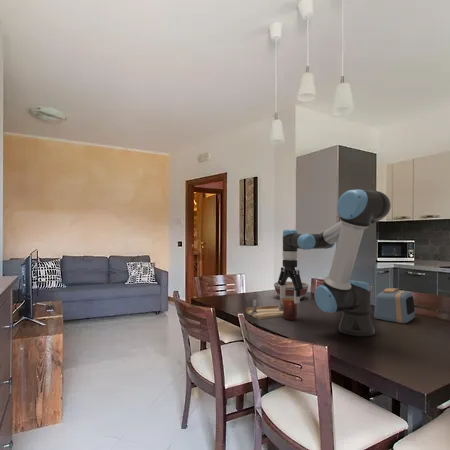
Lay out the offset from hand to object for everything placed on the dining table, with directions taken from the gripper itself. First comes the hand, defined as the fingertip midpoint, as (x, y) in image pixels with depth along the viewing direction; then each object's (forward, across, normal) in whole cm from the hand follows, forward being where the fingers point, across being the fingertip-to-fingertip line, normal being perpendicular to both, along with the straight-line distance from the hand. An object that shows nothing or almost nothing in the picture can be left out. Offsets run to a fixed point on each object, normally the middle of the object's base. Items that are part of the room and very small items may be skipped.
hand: (289, 300), depth 179 cm
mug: (+10, -1, 0) cm, 10 cm away
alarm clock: (+10, -20, -51) cm, 56 cm away
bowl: (+11, +47, -31) cm, 58 cm away
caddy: (+10, +13, +5) cm, 17 cm away
